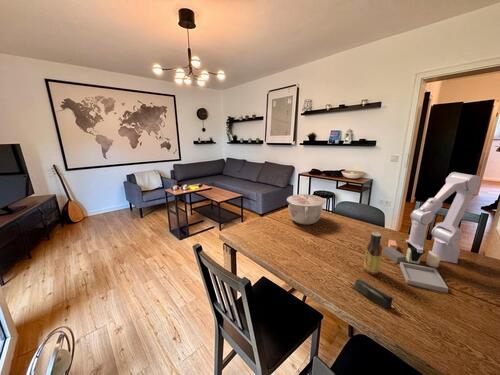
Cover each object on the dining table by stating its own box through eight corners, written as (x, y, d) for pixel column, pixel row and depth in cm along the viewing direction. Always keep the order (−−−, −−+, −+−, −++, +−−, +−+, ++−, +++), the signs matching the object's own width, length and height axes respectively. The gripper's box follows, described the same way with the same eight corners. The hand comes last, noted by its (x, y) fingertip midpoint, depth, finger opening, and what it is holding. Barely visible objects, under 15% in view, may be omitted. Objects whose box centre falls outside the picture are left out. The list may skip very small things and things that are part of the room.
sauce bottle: (365, 265, 102) (369, 228, 97) (379, 270, 99) (385, 232, 93) (361, 272, 98) (367, 234, 92) (377, 277, 94) (383, 238, 89)
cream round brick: (436, 262, 103) (438, 254, 102) (440, 268, 99) (442, 259, 98) (424, 260, 105) (426, 252, 104) (427, 266, 101) (429, 257, 99)
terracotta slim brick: (394, 246, 119) (395, 240, 118) (396, 251, 113) (397, 245, 112) (387, 245, 120) (388, 239, 119) (389, 250, 115) (390, 244, 114)
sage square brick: (416, 259, 106) (418, 249, 105) (419, 264, 102) (421, 254, 101) (406, 257, 108) (407, 247, 106) (408, 262, 104) (410, 252, 103)
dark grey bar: (394, 296, 77) (354, 274, 89) (390, 300, 76) (350, 277, 87) (391, 307, 79) (352, 284, 90) (388, 311, 77) (349, 287, 89)
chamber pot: (301, 211, 174) (301, 187, 168) (331, 221, 153) (333, 194, 148) (278, 220, 157) (278, 194, 151) (308, 233, 136) (310, 203, 131)
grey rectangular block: (390, 252, 113) (391, 246, 112) (404, 262, 104) (406, 256, 103) (382, 253, 113) (383, 247, 112) (396, 263, 104) (397, 257, 103)
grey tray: (434, 272, 96) (435, 268, 95) (447, 293, 84) (448, 288, 83) (399, 265, 101) (400, 261, 101) (406, 284, 89) (407, 279, 89)
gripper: (404, 226, 109) (400, 249, 113) (411, 239, 96) (407, 264, 100) (420, 228, 106) (416, 251, 110) (431, 242, 94) (425, 267, 97)
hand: (412, 258), depth 105 cm, fingers closed on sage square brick, 4 cm apart
